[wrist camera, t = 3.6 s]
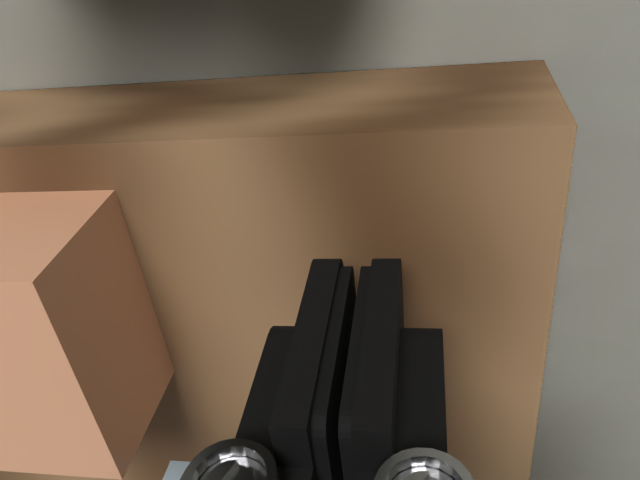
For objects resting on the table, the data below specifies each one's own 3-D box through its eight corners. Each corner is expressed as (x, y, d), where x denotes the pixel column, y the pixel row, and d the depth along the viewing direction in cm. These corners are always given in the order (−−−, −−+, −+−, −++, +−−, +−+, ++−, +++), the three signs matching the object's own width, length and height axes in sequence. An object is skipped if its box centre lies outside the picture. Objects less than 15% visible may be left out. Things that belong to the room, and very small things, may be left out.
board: (543, 59, 13) (577, 125, 10) (501, 492, 21) (513, 597, 18) (-193, 102, 16) (-330, 159, 13) (17, 459, 24) (-38, 542, 21)
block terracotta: (114, 189, 12) (31, 282, 9) (174, 371, 15) (122, 480, 12) (-102, 194, 13) (-229, 280, 10) (-8, 364, 15) (-91, 464, 13)
